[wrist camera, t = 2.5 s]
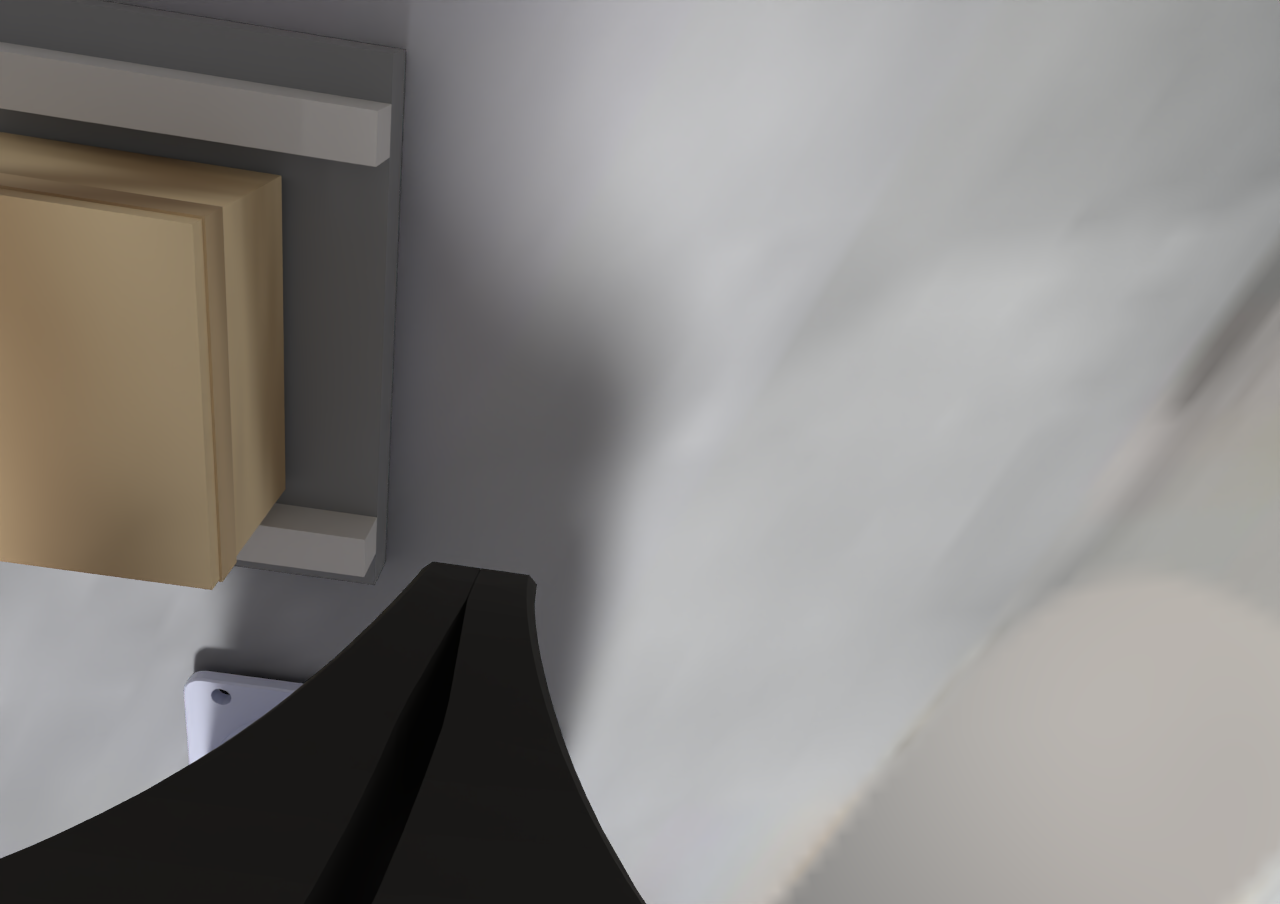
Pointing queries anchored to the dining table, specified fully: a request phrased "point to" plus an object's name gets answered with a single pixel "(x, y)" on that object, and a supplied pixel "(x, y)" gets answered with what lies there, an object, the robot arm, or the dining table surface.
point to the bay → (311, 218)
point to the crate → (137, 361)
